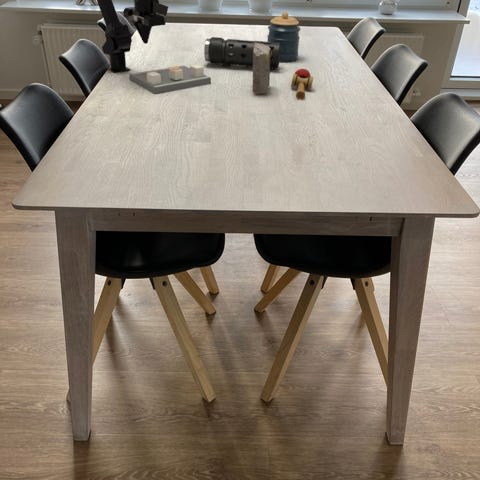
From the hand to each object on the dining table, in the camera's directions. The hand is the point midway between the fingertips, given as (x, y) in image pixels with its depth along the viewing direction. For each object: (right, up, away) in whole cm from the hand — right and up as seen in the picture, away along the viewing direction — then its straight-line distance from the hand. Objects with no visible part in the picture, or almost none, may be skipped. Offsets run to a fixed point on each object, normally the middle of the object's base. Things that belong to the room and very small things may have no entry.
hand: (145, 43), depth 177 cm
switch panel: (+8, -12, +5) cm, 15 cm away
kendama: (+53, -16, +1) cm, 56 cm away
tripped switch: (+10, -12, +1) cm, 15 cm away
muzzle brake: (+33, -1, +23) cm, 40 cm away
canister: (+49, +7, +36) cm, 61 cm away
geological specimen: (+39, -16, 0) cm, 42 cm away
